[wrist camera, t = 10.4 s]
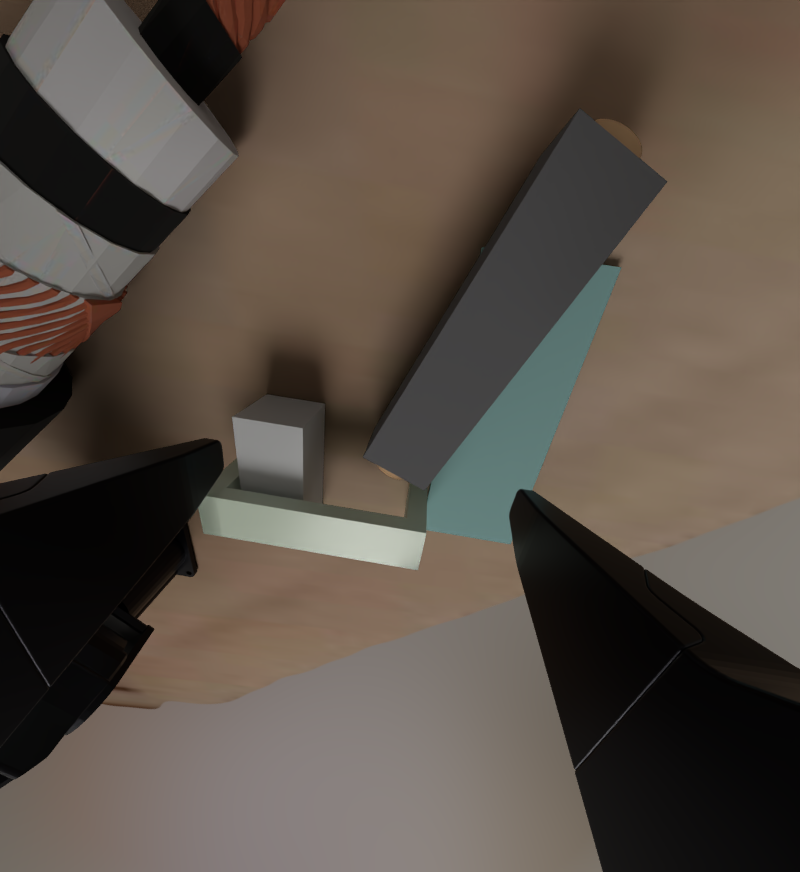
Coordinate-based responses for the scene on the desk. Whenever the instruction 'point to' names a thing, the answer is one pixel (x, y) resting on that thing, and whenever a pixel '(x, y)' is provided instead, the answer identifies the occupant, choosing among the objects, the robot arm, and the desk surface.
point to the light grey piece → (315, 523)
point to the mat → (517, 426)
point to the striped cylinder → (98, 170)
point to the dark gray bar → (516, 292)
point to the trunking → (281, 447)
